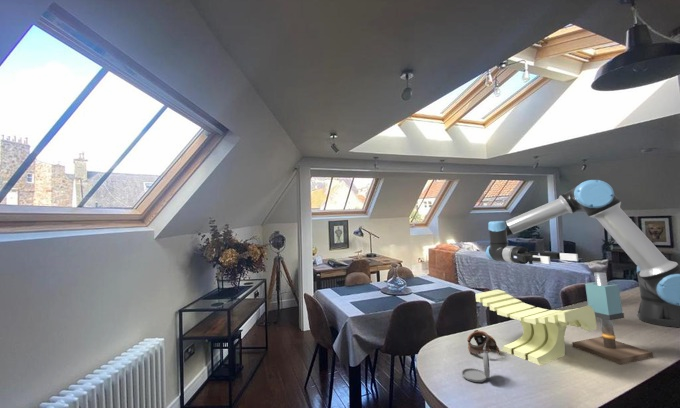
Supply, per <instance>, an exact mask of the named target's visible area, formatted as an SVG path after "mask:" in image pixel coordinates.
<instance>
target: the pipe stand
mask: <svg viewBox="0 0 680 408" xmlns="http://www.w3.org/2000/svg"><path fill="white" fill-rule="evenodd" d="M593 275H594V282H595V284H596V285H601V286H606V285H607V283H608V279H607V273H606V272H598V271H597V272H593ZM599 319H600V327H601V336H597V337H593V338H592V337H591V338H587V339H582V340H578V341H572V342H571V345H572V348H575V349H577V350H580V351H583V352H586V353H588V354H591V355H593V356H597V357H599V358H602V359H604V360H607V361H610V362H613V363H615V364H618V365H624V364H629V363H633V362H637V361H642V360H645V359H650V358H653V357H654V354H653V351H651V350H647V349H644V348H640V347H637V346H634V345H630V344H628V343H624V342H623V341H622V342H621V341H617V340H616V335H615V330H614V323H613V321H614V320H606V319H602V318H599Z"/></svg>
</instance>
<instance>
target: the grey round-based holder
mask: <svg viewBox="0 0 680 408" xmlns="http://www.w3.org/2000/svg"><path fill="white" fill-rule="evenodd" d="M485 347H486V343H485V346H484V348H483V350H484V353H482V360H483V361H482V363H483V371H482V370H481V369H478V368H471V367H470V368H465V369H463V370H461V375H462V377H463V378H464V379H466V380H467V381H470V382H475V383H482V382H485V381H487V379H488V378H490V375H491V374H490V373H491V371H490V359H489V352H488V351H487V352H486V348H485Z"/></svg>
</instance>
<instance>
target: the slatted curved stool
mask: <svg viewBox="0 0 680 408" xmlns="http://www.w3.org/2000/svg"><path fill="white" fill-rule="evenodd" d="M475 302H476V303H482V306H483V307H489V311H493V312H496V314H497V315H498V316H501V317H505V318H510V319H514V320H517V321H519V322H520V323H521V326H522V328H523V333H522V335H521V336H520V337H519V338H518V339H516V340H514V341H512V342H509V343H508V344H505V345H502V348H501V350H500V352H503V353H506V352H507V353H506V354H509V355H513V356H515V357H518V358H520V359H522V360H528V362H530V363H533V364H536V365H538V366H543V365H546V364H548V363H551V362H552V361H556V360H558V359H560V358H562V357H565V355H566V345H565V334H566V330H567V326H570V327H576V328H578V327H581V329H582V330H585V331H587V332H591V331H594V330H597V328H598V326H597V319H596V318H597V317H595V313H594V310H593V308H592V307H591V306H589V305H588V304H587V305H584V306H582V307H577V308H573V309H565V310H559V309H558V310H555V309H547V308H542V307H538V306H537V307H536V306H535V305H532V304H528V303H525V302H523V301H522V300H520V299H518V298H515V297H514V296H513V295H510V294H509V293H507V291H504V290H501V289H493V290H487V291H483V292H478V293H475ZM555 359H556V360H555ZM550 361H551V362H550Z"/></svg>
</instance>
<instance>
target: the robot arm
mask: <svg viewBox="0 0 680 408" xmlns="http://www.w3.org/2000/svg"><path fill="white" fill-rule="evenodd" d="M621 204H622V201H621V200H620V199H619V198H618V197H617V196H616V195H615V192H614V188H613V187H612V186H611V185H610V184H609V183H608V182H606V181H603V180H601V179H587V180H585V181H583V182H581V183H579V184H578V185H576V186H574V187H573V188H572V189H570V190H569V191H567V192H565V193H562V194H561V195H559V197H558V198H557V199H554V200H552V201H549V202H547V203H545V204H543V205H540V206H538V207H536V208H533V209H530V210H529V211H526V212H524V213H522V214H519V215H517V216H514V217H512V218H510V219H507V220H506V221H505V220H495V221H489V222H488V224H487V225H488V227H487V228H488V229H487V230H488V234H489V235H488V236H489V245H488V246H487V247H486V250H485V255H486V257H487V259H489V260H491V261H495V262H502V263H510V264H511V265H514V264H519V265H526V264H529V265H533V264H534V263H537V264H546V265H551V260H560V261H569V262H571V261H572V262H579V255H578V253H565V252H564V251H562V250H561V251H559V252H553V251H552V252H550V251H548V252H547V251H544V252H543V251H534V250H530V249H528V248H527V247H524V246H514V245H509V244H508V243H509V242H508V237H511V236H512V235H515V234H518V233H520V232H523V231H525V230H527V229H529V228H530V229H531V228H532V227H535V226H538V225H540V224H543V223H545V222H547V221H550V220H553V219H555V218H558V217H560V216H563V215H566V214H575V213H576V212H580V211H584V212H585V214H586V215H587V216H588V217H589V218H593V219H596V220H597V221H598V222H599V223H600V225H601V226H602V227H603V228H604V229H605V231H606V232H607V233H608V234H609V235H610V236H611V237H612V238H613V240H614V241H615V242H616V243H617V244H618V246H619V247H620V248H621V249H622V251H623V252H625V254H627V256H628V257H629V258H630V259H631V260H632V262H633V263H634V264H635V265H636V275H637V282H638V288H639V294H640V304H639V306H638V310H637V318H639V319H638V320H640V321H643V322H644V321H645V323H648V324H652V325H657V326H661V327H664V326H665V327H670V326H671V328H672V327H673V328H680V265H679V263H678V262H676V261H672V260H669V259H668V258H667V257H665V255H664V254H663V253H662V252H661V251H660V250H659V249H658V247H656V245H655V244H654V243H653V242H652V241H651V239H650V238H648V236H647V235H645V233H644V232H643V231H642V230H641V229H640V227H638V226H637V224H636V223H635V222H634V221H633V220H632V219H631V218H630V217H629V216H628V215H627V214H626V213H625V211H624V210H623V209H622V208H621Z"/></svg>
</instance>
